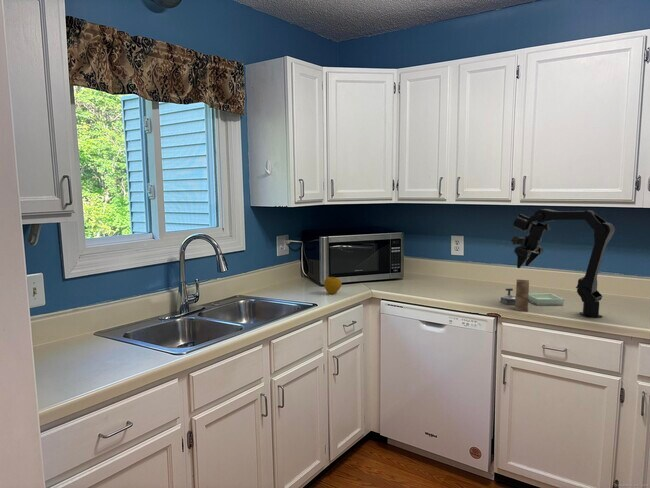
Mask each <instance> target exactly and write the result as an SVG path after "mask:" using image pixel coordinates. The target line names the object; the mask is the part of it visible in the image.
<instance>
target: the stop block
mask: <svg viewBox="0 0 650 488" xmlns="http://www.w3.org/2000/svg"><path fill="white" fill-rule="evenodd" d="M515 283H516V284H515V285H516V287H515V296H516V305H514V306H515V309H514V310H515V311H516V312H527V313H528V311H529V301H528V295H529V291H530V280H529V279H516V282H515Z"/></svg>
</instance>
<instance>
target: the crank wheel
mask: <svg viewBox="0 0 650 488" xmlns="http://www.w3.org/2000/svg"><path fill="white" fill-rule="evenodd" d="M505 291H507V295H504V296H503V297H504V299H507V300H516V295H512V294H511V292H512V291H514V289H513V288H505Z"/></svg>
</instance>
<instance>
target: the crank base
mask: <svg viewBox="0 0 650 488" xmlns="http://www.w3.org/2000/svg"><path fill="white" fill-rule="evenodd" d="M500 302H501V303H503V304H504V305H506V306H515V305H516V300H507V299H504V296H502V297H500Z"/></svg>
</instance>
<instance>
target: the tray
mask: <svg viewBox="0 0 650 488" xmlns="http://www.w3.org/2000/svg"><path fill="white" fill-rule="evenodd" d="M529 302H530V303H532V304H533V305H535V306H537V307H540V306H543V307H549V306H550V307H551V306H552V307H553V306H554V307H557V306H559V307H561V306H562V307H564V303H565V298H562V297H560V296H558V295H556V294H554V293H549V292H547V293H546V292H545V293H543V292H542V293H537V292H536V293H529V295H528V303H529Z"/></svg>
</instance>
